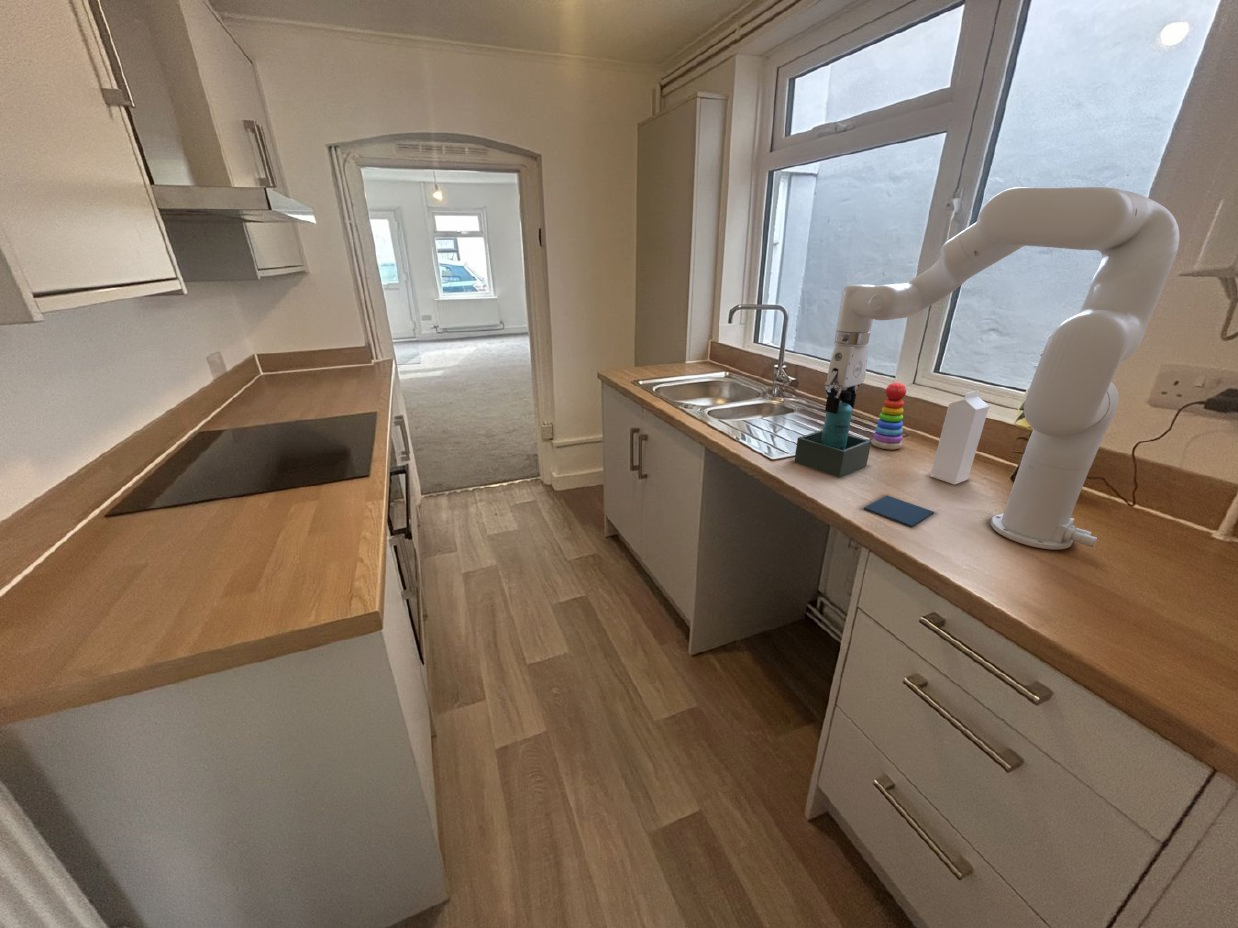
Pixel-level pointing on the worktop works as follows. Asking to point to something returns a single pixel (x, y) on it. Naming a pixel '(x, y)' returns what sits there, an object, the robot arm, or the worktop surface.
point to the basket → (832, 454)
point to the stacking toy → (891, 419)
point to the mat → (899, 511)
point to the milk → (959, 439)
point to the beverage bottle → (838, 424)
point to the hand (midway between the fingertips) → (839, 409)
